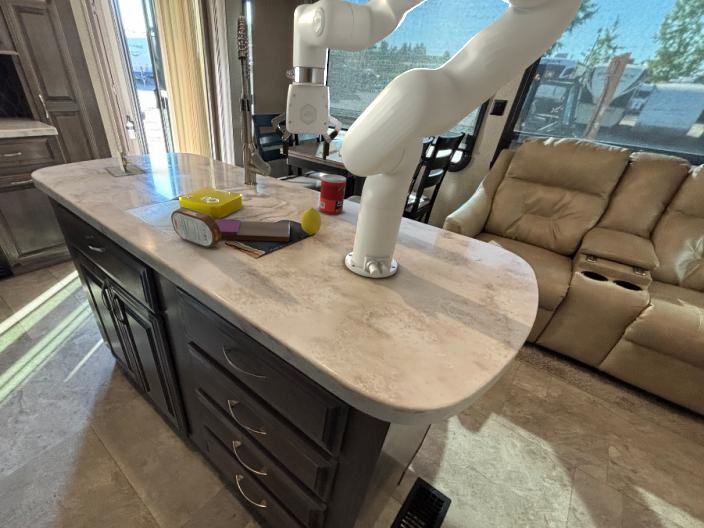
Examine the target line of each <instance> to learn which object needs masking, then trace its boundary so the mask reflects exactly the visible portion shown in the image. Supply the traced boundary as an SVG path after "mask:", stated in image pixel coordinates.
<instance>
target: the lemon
mask: <svg viewBox="0 0 704 528" xmlns="http://www.w3.org/2000/svg"><path fill="white" fill-rule="evenodd" d="M321 216H322V215H321V213H320V212H319V210H317V209H315V208H314V207H310V208H308V209H306V210H304V211H303V213H302V215H301V220H300V225H301V229H302V230H303V232H305V233H306V234H307V235H309V236H312V235H313V234H316V233H317V232H318V231H319V230H320V228H321V226H322V217H321Z"/></svg>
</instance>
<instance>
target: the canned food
mask: <svg viewBox="0 0 704 528" xmlns="http://www.w3.org/2000/svg"><path fill="white" fill-rule="evenodd" d="M346 185H347V178H346V177H345V176H343V175H338V174H332V173H331V174H329V173H328V174H324V175H321V181H320V194H319V205H318V208H319V211H320V212H321V213H323V214H324V215H325V214H326V215H330V216H331V215H332V216H333V215H334V216H335V215H339V214H341V213H342V212H343V210H344V209H343V208H344V200H345V192H346Z"/></svg>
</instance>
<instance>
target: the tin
mask: <svg viewBox="0 0 704 528" xmlns="http://www.w3.org/2000/svg"><path fill="white" fill-rule="evenodd" d="M170 219H171V225H172V227H173V230H174V232H175V233H176V235H178V236H179V237H180V238H181V239H182V240H184V241H187V242H188V243H189V242H190V243H192V244H194V245H197V246H201V247H203V248H208V249H209V248H212V247H214V246H216V245H218V244H220V242H221V240H222V239H221V231H220V228H219V226H218V224H217V222H216V221H215V220H214V219H213V218H212V217H211V216H209V215H208V214H205V213H202V212H199V211H195V210H192V209H189V208H186V207H181V208H180V207H179V208H177V209H176V210H174V211H172V212H171V216H170Z"/></svg>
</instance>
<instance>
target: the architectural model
mask: <svg viewBox="0 0 704 528" xmlns="http://www.w3.org/2000/svg"><path fill="white" fill-rule="evenodd" d="M116 156H117V159H118V163H119V166H115V167H106V169H107V170H108V171H109V172H110V173H111V174H112V175H113V176H114V177H122V176H131V175H140V174H145V172H144V171H142V170H141V169H140V168H138V167H137V166H136V165H133V162H132V161H130V160H129V159H127V158H125V157H124V151H118V150H116Z"/></svg>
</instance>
